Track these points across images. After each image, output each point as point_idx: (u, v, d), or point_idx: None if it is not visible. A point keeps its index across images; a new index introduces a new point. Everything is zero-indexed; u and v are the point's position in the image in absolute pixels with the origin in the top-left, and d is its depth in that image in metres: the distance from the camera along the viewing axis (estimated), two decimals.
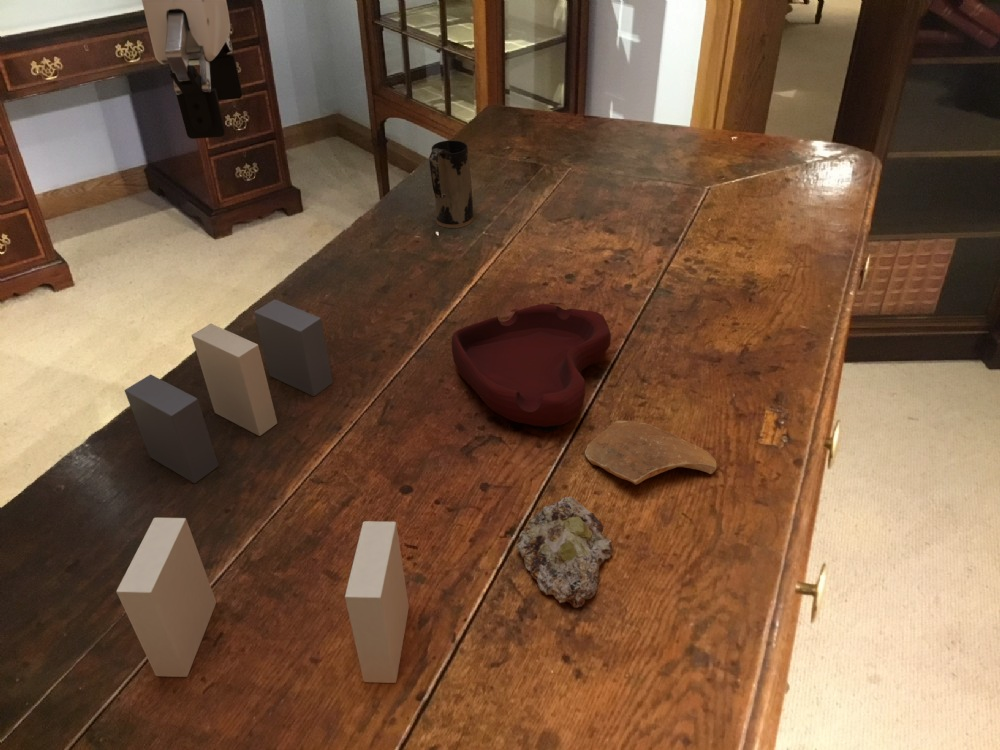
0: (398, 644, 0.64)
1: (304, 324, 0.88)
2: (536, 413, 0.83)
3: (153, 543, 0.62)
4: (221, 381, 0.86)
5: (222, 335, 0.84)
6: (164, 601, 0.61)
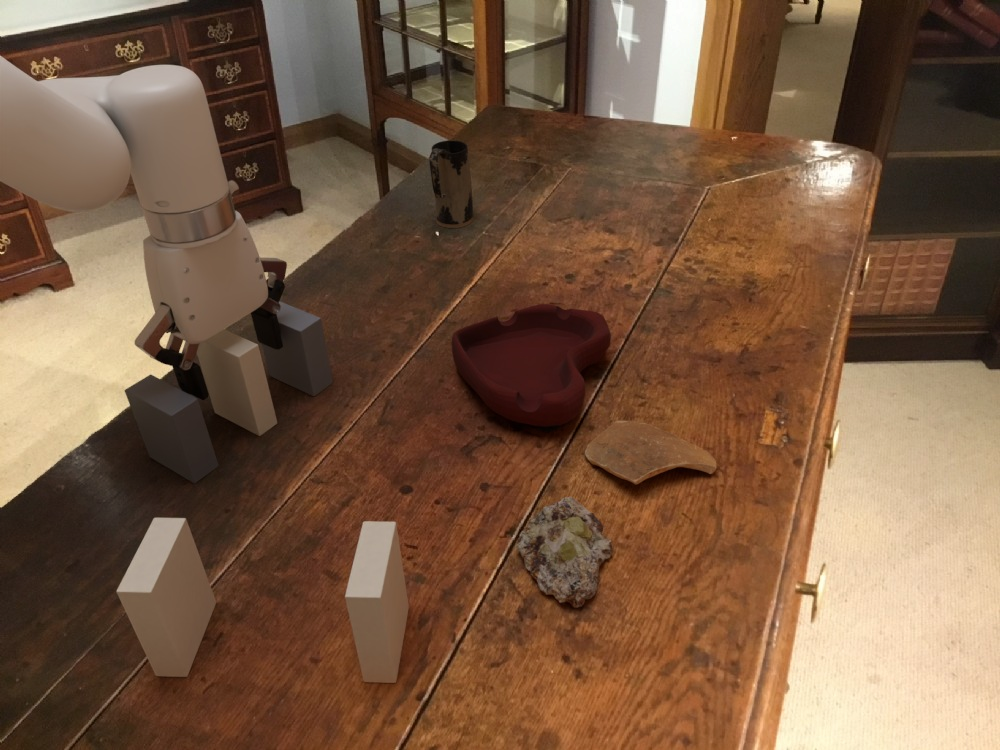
0: (398, 644, 0.64)
1: (304, 324, 0.88)
2: (536, 413, 0.83)
3: (153, 543, 0.62)
4: (221, 381, 0.86)
5: (222, 335, 0.84)
6: (164, 601, 0.61)
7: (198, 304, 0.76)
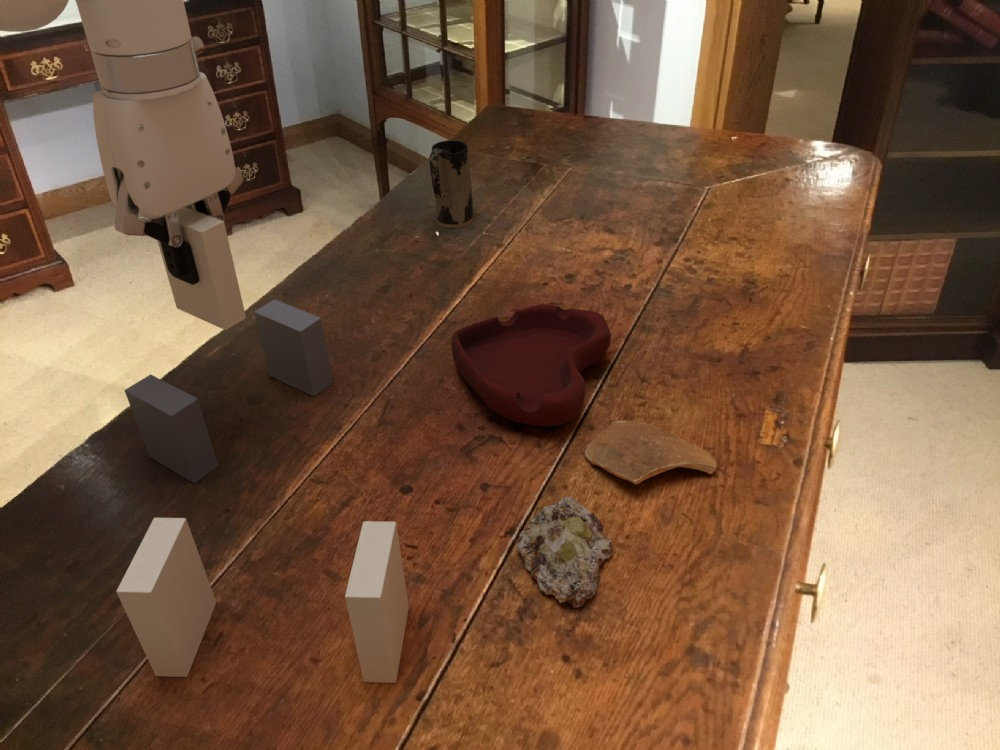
0: (398, 644, 0.64)
1: (304, 324, 0.88)
2: (536, 413, 0.83)
3: (153, 543, 0.62)
4: None
5: (184, 213, 0.75)
6: (164, 601, 0.61)
7: (154, 170, 0.68)
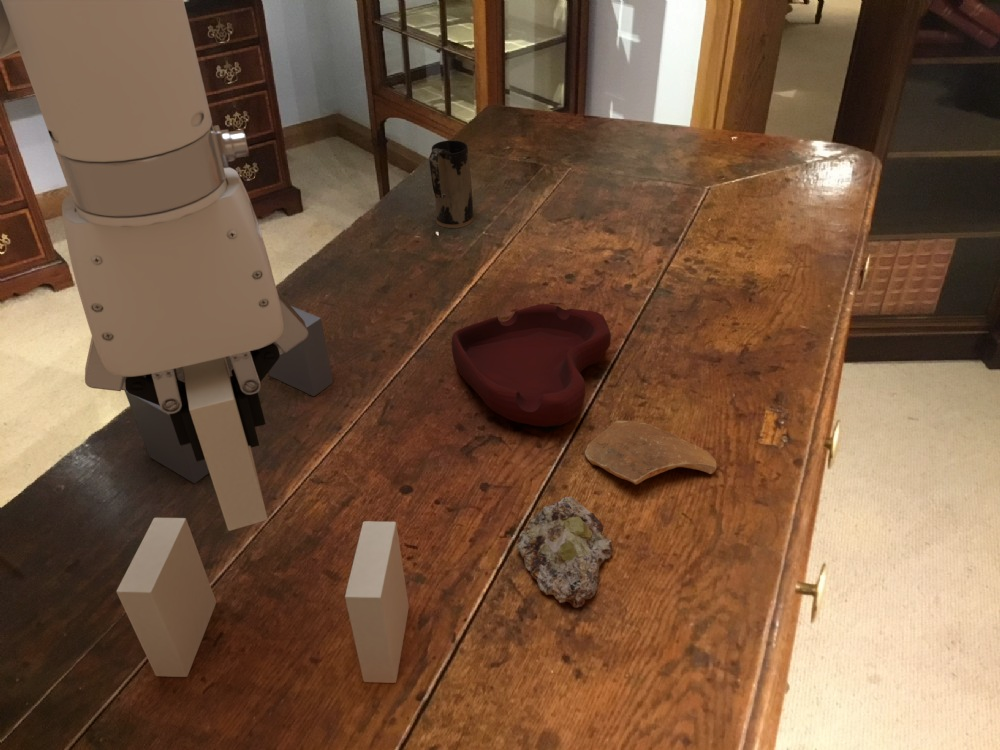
0: (398, 644, 0.64)
1: None
2: (536, 413, 0.83)
3: (153, 543, 0.62)
4: None
5: (210, 362, 0.52)
6: (164, 601, 0.61)
7: (120, 319, 0.45)
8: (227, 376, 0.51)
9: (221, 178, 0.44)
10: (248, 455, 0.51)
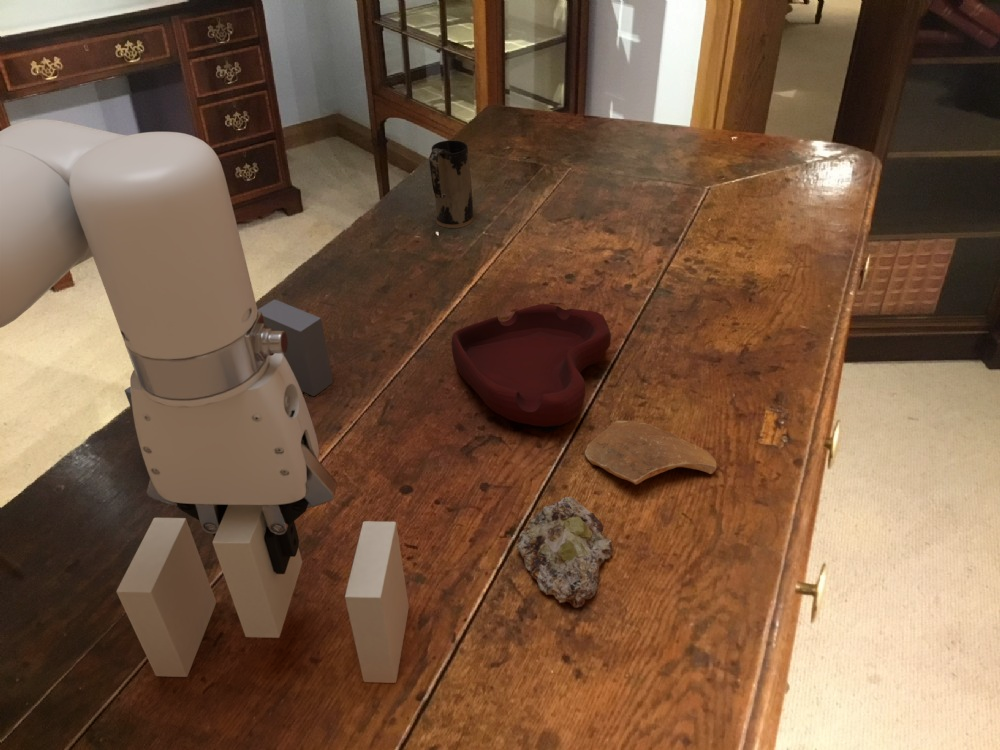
0: (398, 644, 0.64)
1: (304, 324, 0.88)
2: (536, 413, 0.83)
3: (153, 543, 0.62)
4: None
5: None
6: (164, 601, 0.61)
7: (164, 462, 0.53)
8: (258, 516, 0.57)
9: (253, 371, 0.49)
10: (262, 586, 0.58)
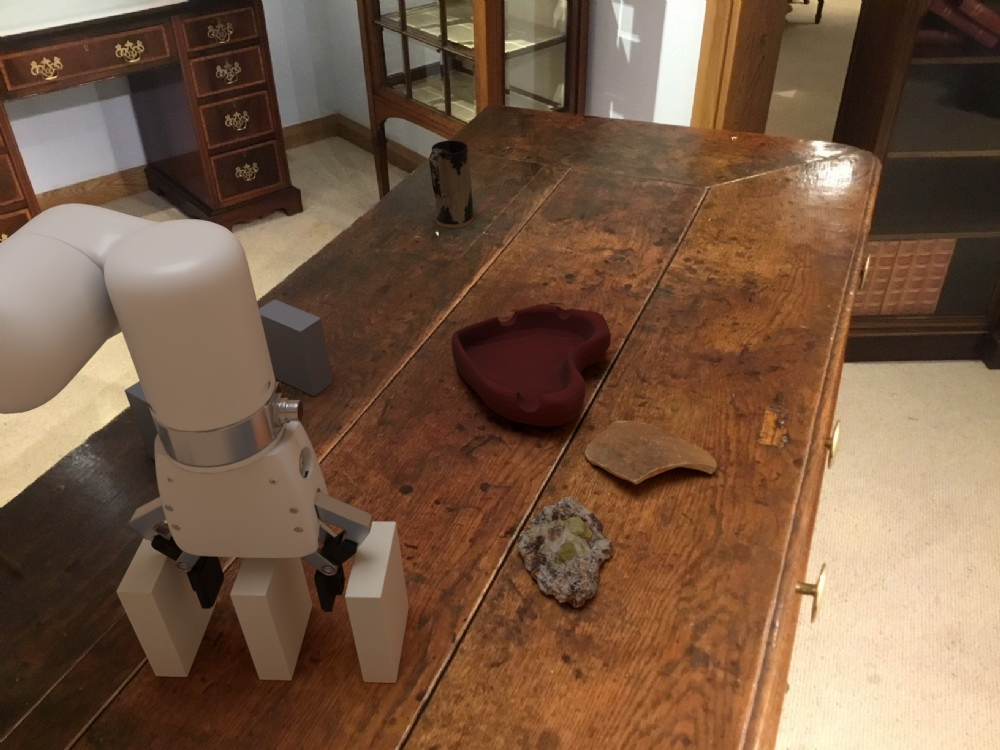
0: (398, 644, 0.64)
1: (304, 324, 0.88)
2: (536, 413, 0.83)
3: None
4: None
5: None
6: (164, 601, 0.61)
7: (185, 519, 0.56)
8: (273, 568, 0.60)
9: (271, 438, 0.52)
10: (276, 634, 0.61)
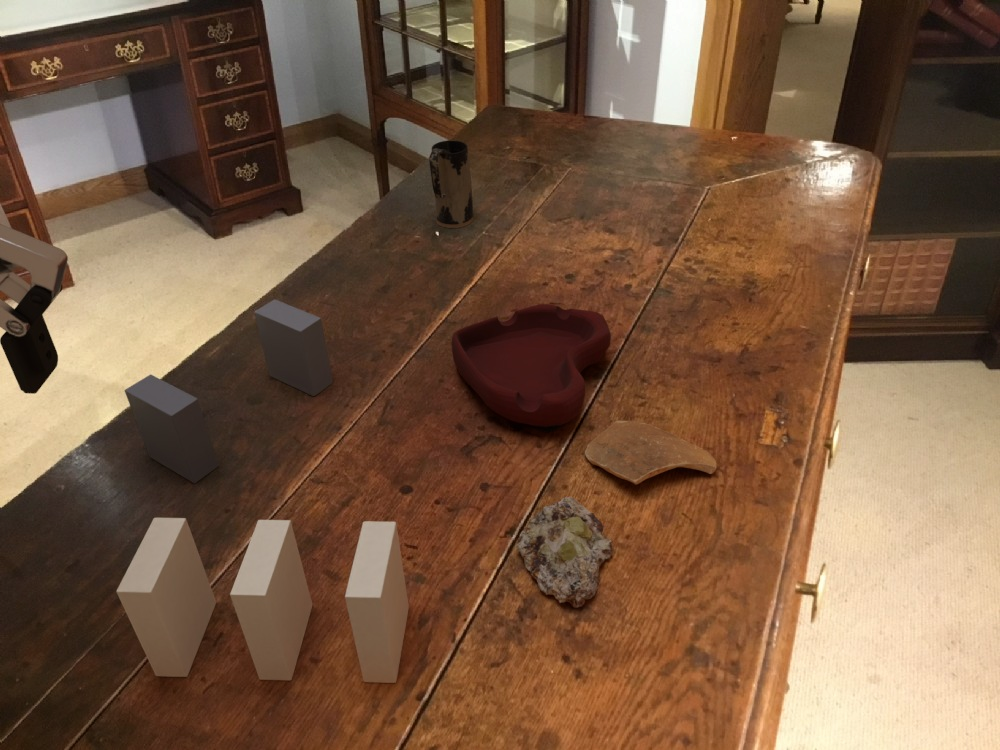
0: (398, 644, 0.64)
1: (304, 324, 0.88)
2: (536, 413, 0.83)
3: (153, 543, 0.62)
4: None
5: (269, 548, 0.61)
6: (164, 601, 0.61)
7: None
8: (273, 568, 0.60)
9: None
10: (276, 634, 0.61)
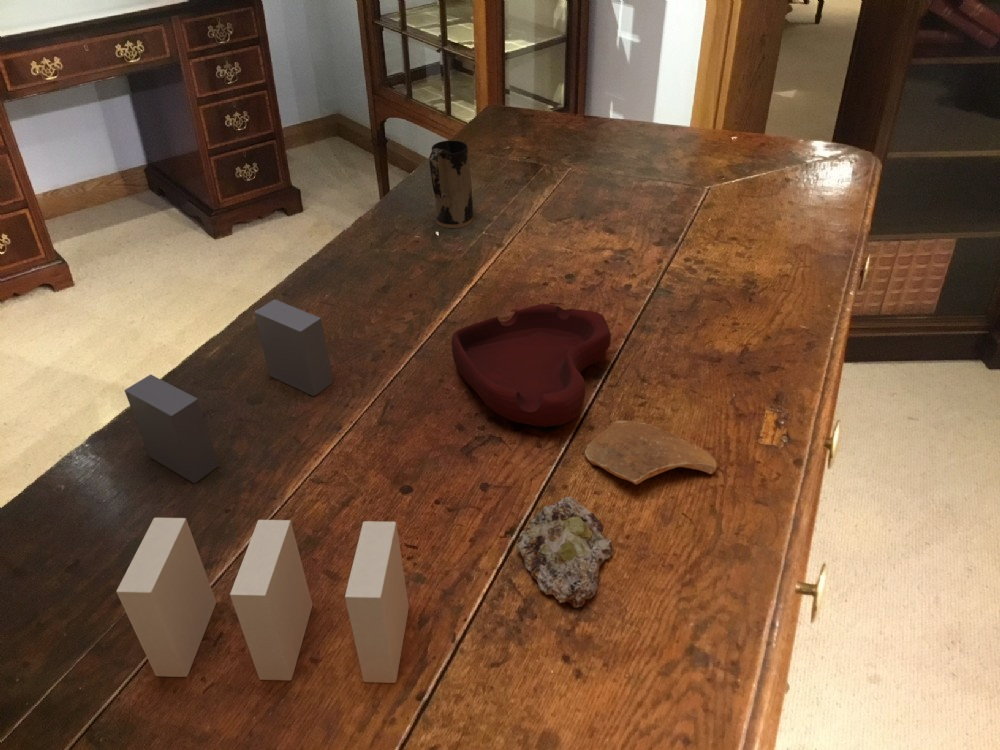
0: (398, 644, 0.64)
1: (304, 324, 0.88)
2: (536, 413, 0.83)
3: (153, 543, 0.62)
4: None
5: (269, 548, 0.61)
6: (164, 601, 0.61)
7: None
8: (273, 568, 0.60)
9: None
10: (276, 634, 0.61)
